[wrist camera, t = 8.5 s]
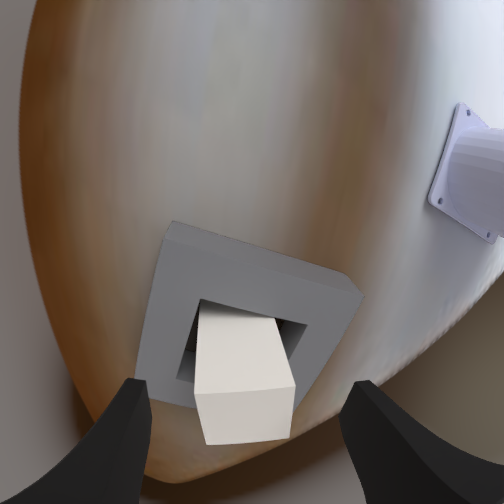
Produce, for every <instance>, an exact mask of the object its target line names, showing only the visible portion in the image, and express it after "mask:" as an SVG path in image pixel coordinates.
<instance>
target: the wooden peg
mask: <svg viewBox="0 0 504 504" xmlns="http://www.w3.org/2000/svg"><path fill="white" fill-rule="evenodd" d="M295 388H296V385H295V382H294V379H293V376H292V373H291V369H290V366H289V363H288V360H287V357H286V353H285V350H284V347H283V344H282V341H281V338H280V334H279V331H278V328H277V325H276V322H275V318H274V317H271V316H267V315H263V314H259V313H255V312H251V311H247V310H243V309H239V308H235V307H231V306H227V305H223V304H220V303H216V302H212V301H208V300H205V299H201V298H200V310H199V323H198V336H197V351H196V367H195V386H194V396H195V400H196V405H197V409H198V413H199V417H200V421H201V425H202V429H203V433H204V437H205V441H206V445H219V444H237V443H250V442H260V441H269V440H277V439H285V438H289V434H290V427H291V420H292V412H293V404H294V396H295Z"/></svg>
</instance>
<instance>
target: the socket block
mask: <svg viewBox="0 0 504 504" xmlns="http://www.w3.org/2000/svg"><path fill="white" fill-rule="evenodd" d="M364 297H365V296H364V295H363V294H362V293H361V292H360V290H359V289H358V288H357V287H356V286H355V285H354V284H353V282H352V281H351V280H350V279H349V278H348V277H347V276H346V274H344V273H341V272H338V271H334V270H331V269H328V268H325V267H322V266H318V265H315V264H312V263H309V262H306V261H302V260H299V259H296V258H293V257H289V256H286V255H283V254H280V253H276V252H273V251H270V250H267V249H264V248H260V247H257V246H254V245H251V244H247V243H244V242H241V241H237V240H234V239H231V238H228V237H224V236H221V235H218V234H215V233H211V232H208V231H205V230H201V229H198V228H195V227H192V226H188V225H185V224H182V223H178V222H175V221H172V223H171V225H170V227H169V229H168V231H167V233H166V234H165V236H164V238H163V242H162V246H161V250H160V254H159V258H158V262H157V266H156V270H155V274H154V279H153V283H152V287H151V292H150V296H149V301H148V306H147V310H146V315H145V320H144V325H143V330H142V336H141V341H140V346H139V352H138V358H137V364H136V370H135V377H134V379H140V380H146V383H147V390H148V396H149V398H151V399H155V400H159V401H163V402H167V403H171V404H176V405H180V406H185V407H190V408H195V409H197V405H196V400H195V396H194V386H195V367H196V353H195V352H191V351H187V350H185V346H186V343H187V340H188V336H189V333H190V330H191V327H192V324H193V320H194V317H195V314H196V311H197V308H198V305H199V301H200V298H201V299H205V300H208V301H212V302H216V303H220V304H223V305H227V306H231V307H235V308H239V309H243V310H247V311H251V312H255V313H259V314H263V315H267V316H271V317H276V318H280V319H284V320H285V321H284V323H283V325H282V327H281V329H280V331H279V334H280V338H281V341H282V344H283V347H284V350H285V353H286V357H287V360H288V363H289V366H290V369H291V373H292V376H293V379H294V382H295V385H296V388H295V396H294V404H293V412H294V410H295V409H296V408H297V406H298V405H299V403H300V402H301V400H302V399H303V398H304V396H305V395H306V393H307V392H308V390H309V389H310V387H311V386H312V384H313V383H314V381H315V380H316V378H317V377H318V375H319V373H320V372H321V370H322V369H323V367H324V366H325V364H326V362H327V361H328V359H329V358H330V356H331V354H332V353H333V351H334V350H335V348H336V346H337V345H338V343H339V341H340V339H341V338H342V336H343V334H344V333H345V331H346V329H347V327H348V326H349V324H350V322H351V320H352V319H353V317H354V315H355V313H356V311H357V310H358V308H359V306H360V304H361V302H362V300H363V298H364ZM293 412H292V413H293Z"/></svg>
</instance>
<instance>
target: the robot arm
mask: <svg viewBox="0 0 504 504" xmlns="http://www.w3.org/2000/svg"><path fill="white" fill-rule="evenodd" d="M466 111H467V114H466ZM439 198H440V202H439V203H438V200H439ZM428 202H429V203H430V204H431V205H433V206H434V207H436V208H437V209H439V210H441V211H442V212H444V213H445V214H447V215H449V216H450V217H452V218H453V219H455V220H456V221H458V222H459V223H461V224H462V225H464V226H465V227H467V228H468V229H470V230H471V231H473V232H474V233H476V234H477V235H479V236H480V237H481V238H483V239H484V240H486V241H487V242H488V243H490V244H494V243H495V241H496V239H497V236H498V235H499V236H501V237H503V238H504V129H497V128H490V127H489V126H488V125H487V124H486V123H485V122H484V121H483V120H482V119H481V118H480V117H479V116H478V115H477V114H476V113H475V112H474V111H473V110H472V109H471V108H469V107H468V106H467V105H466V104H465V103H458V104H457V107H456V111H455V114H454V118H453V122H452V125H451V129H450V132H449V136H448V139H447V142H446V146H445V149H444V152H443V155H442V158H441V161H440V164H439V167H438V170H437V173H436V176H435V179H434V181H433V184H432V187H431V189H430V192H429V195H428ZM338 417H339V422H340V426H341V430H342V434H343V438H344V441H345V444H346V447H347V449H348V452H349V454H350V457H351V459H352V462H353V464H354V467H355V469H356V472H357V474H358V477H359V479H360V482H361V485H362V488H363V491H364V494H365V498H366V503H367V504H502V503H504V465H500V464H496V463H492V462H489V461H486V460H483V459H481V458H478V457H475V456H473V455H471V454H469V453H467V452H464V451H462V450H460V449H458V448H456V447H454V446H452V445H451V444H449V443H448V442H446V441H444V440H443V439H441V438H439V437H438V436H436V435H435V434H433V433H432V432H431V431H429V430H428V429H427V428H425V427H424V426H423V425H421V424H420V423H419V422H417V421H416V420H415V419H414V418H412V417H411V416H410V415H409V414H408V413H406V412H405V411H404V410H403V409H402V408H401V407H399V406H398V405H397V404H396V403H395V402H394V401H393V400H392V399H390V398H389V397H388V396H387V395H386V394H385V393H384V392H382V391H381V390H380V389H379V388H378V387H377V386H376V385H375V384H373V383H372V382H371V381H370V380H365V381H356V382H355V383H354V385H353V387H352V389H351V391H350V393H349V395H348V398H347V400H346V402H345V404H344V406H343V408H342V410H341V412H340V414H339V416H338ZM151 424H152V413H151V408H150V402H149V396H148V390H147V383H146V380H140V379H133V378H127V379H126V380H125V382H124V383H123V385H122V386H121V388H120V389H119V391H118V392H117V394H116V395H115V397H114V398H113V400H112V401H111V403H110V404H109V405H108V407H107V408H106V410H105V411H104V412H103V414H102V415H101V416H100V417H99V419H98V420H97V421H96V423H95V424H94V425H93V427H92V428H91V429H90V430H89V431H88V433H87V434H86V435H85V436H84V437H83V438H82V439H81V441H80V442H79V443H78V444H77V445H76V446H75V447H74V448H73V449H72V450H71V451H70V453H68V455H66V456H65V457H64V458H63V459H62V460H61V461H60V462H59V463H58V464H57V465H56V466H55V467H54V468H52V469H51V470H50V471H49V472H48V473H47V474H45V475H44V476H43V477H41V478H40V479H39V480H38V481H36V482H35V483H33V484H32V485H30V486H29V487H27V488H26V489H24V490H23V491H21V492H20V493H18V494H17V495H15V496H13V497H11V498H10V499H8V500H6V501H4V502H2V503H0V504H139V496H140V490H141V484H142V479H143V474H144V469H145V464H146V459H147V454H148V449H149V444H150V435H151Z"/></svg>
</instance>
